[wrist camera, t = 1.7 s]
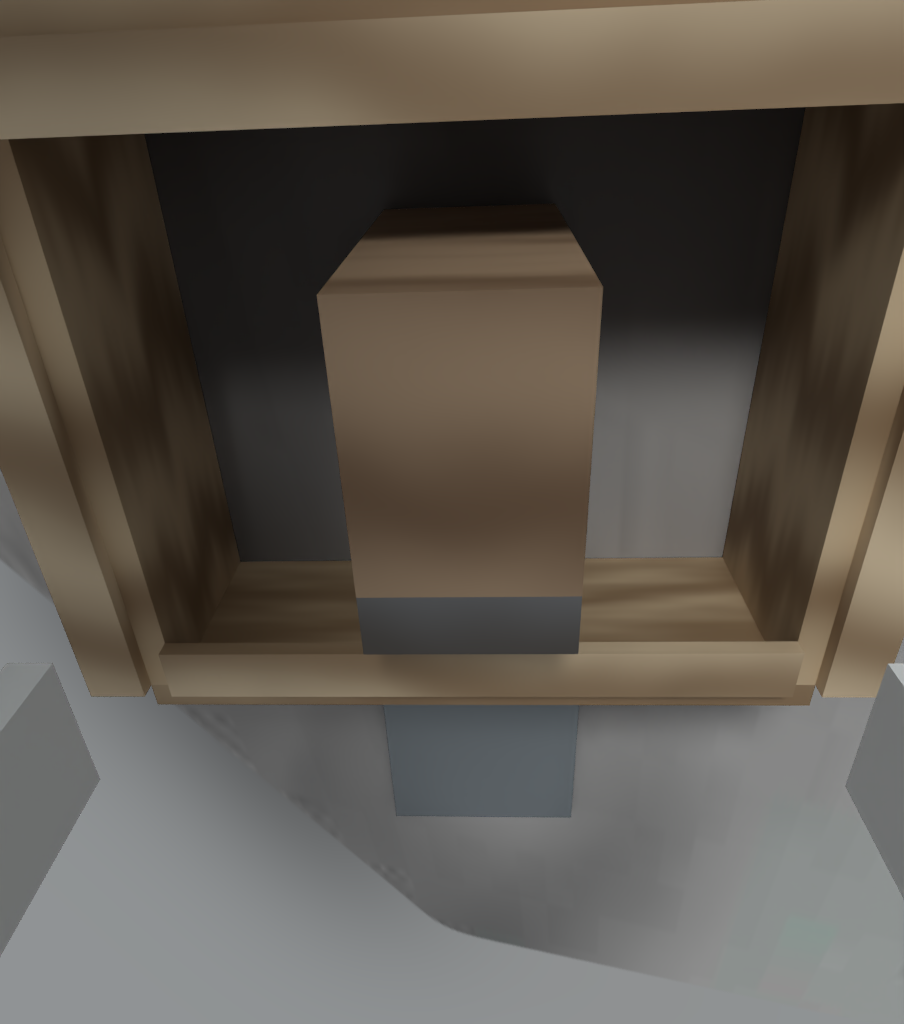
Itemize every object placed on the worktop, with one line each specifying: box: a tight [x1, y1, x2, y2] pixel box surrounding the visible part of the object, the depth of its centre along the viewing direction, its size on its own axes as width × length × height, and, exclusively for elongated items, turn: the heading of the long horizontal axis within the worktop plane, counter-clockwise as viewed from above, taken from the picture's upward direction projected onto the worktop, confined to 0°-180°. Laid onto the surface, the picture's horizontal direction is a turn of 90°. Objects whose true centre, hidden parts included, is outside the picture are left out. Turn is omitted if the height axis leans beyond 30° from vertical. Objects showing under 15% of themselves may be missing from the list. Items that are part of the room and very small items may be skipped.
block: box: [317, 204, 603, 655], centre depth 23 cm, size 10×6×12 cm, turn 2°
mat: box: [383, 705, 579, 817], centre depth 38 cm, size 15×10×1 cm, turn 2°
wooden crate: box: [0, 0, 904, 705], centre depth 24 cm, size 22×28×9 cm
